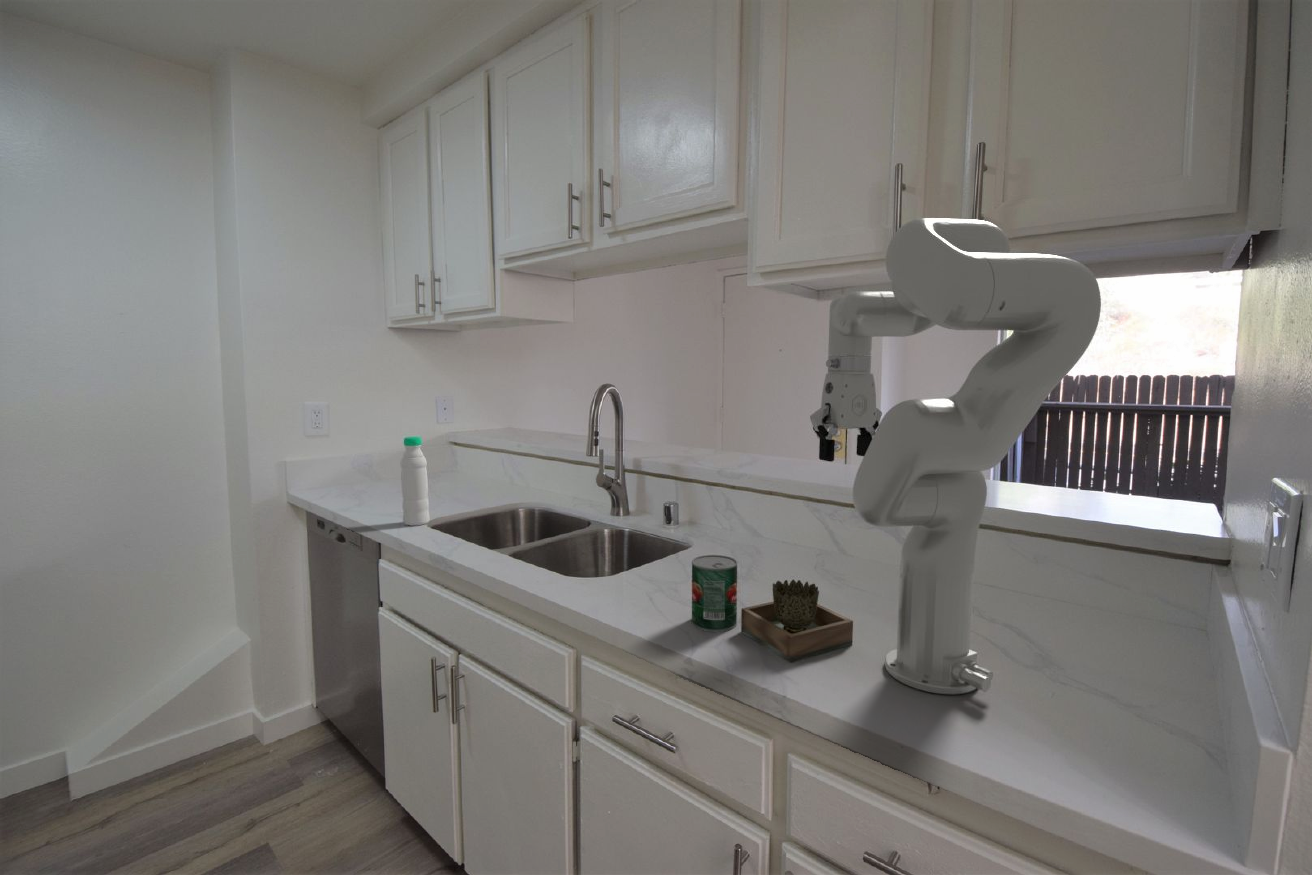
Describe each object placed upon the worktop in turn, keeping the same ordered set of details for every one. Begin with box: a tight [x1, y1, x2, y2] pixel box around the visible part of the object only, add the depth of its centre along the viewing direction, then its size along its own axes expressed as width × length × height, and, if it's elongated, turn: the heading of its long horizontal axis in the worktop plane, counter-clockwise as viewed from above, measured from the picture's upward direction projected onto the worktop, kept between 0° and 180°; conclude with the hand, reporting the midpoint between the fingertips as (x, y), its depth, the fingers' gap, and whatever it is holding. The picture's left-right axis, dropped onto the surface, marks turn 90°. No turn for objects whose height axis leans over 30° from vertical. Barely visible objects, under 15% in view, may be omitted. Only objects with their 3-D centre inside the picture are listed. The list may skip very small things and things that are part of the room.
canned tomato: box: [691, 554, 739, 633], centre depth 107 cm, size 8×8×11 cm
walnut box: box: [740, 600, 854, 663], centre depth 101 cm, size 13×13×4 cm
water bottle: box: [400, 436, 431, 527], centre depth 178 cm, size 7×7×25 cm
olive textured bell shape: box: [772, 579, 820, 634], centre depth 101 cm, size 8×7×8 cm
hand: (845, 458), depth 116 cm, fingers open, 9 cm apart
